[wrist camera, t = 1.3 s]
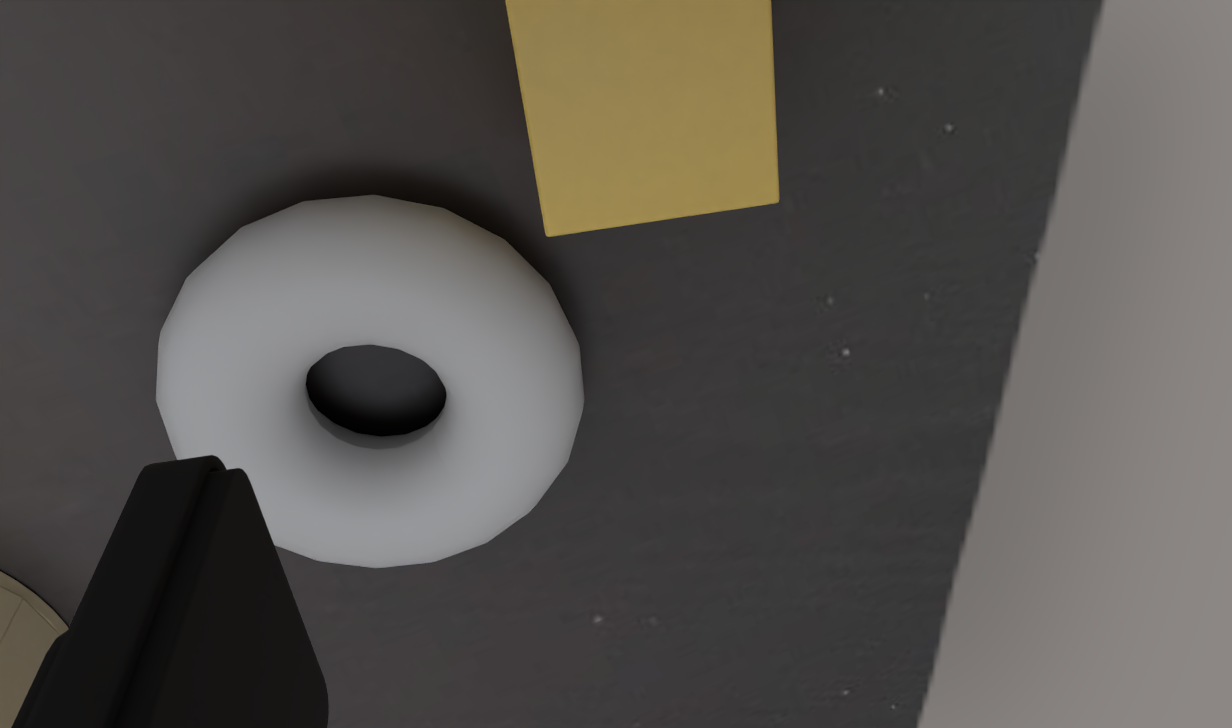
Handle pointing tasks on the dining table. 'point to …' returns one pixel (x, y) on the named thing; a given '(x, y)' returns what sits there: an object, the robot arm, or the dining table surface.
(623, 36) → the cheese
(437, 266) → the donut
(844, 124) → the dining table surface
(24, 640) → the pot
